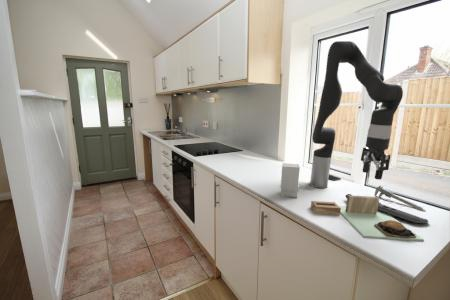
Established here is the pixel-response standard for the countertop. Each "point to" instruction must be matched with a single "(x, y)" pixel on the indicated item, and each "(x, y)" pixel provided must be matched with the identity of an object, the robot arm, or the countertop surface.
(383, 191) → the caliper
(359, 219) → the mat
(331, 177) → the phone
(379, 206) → the knife
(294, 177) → the skincare box
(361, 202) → the board
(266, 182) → the countertop surface
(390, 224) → the bread roll
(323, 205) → the stand
